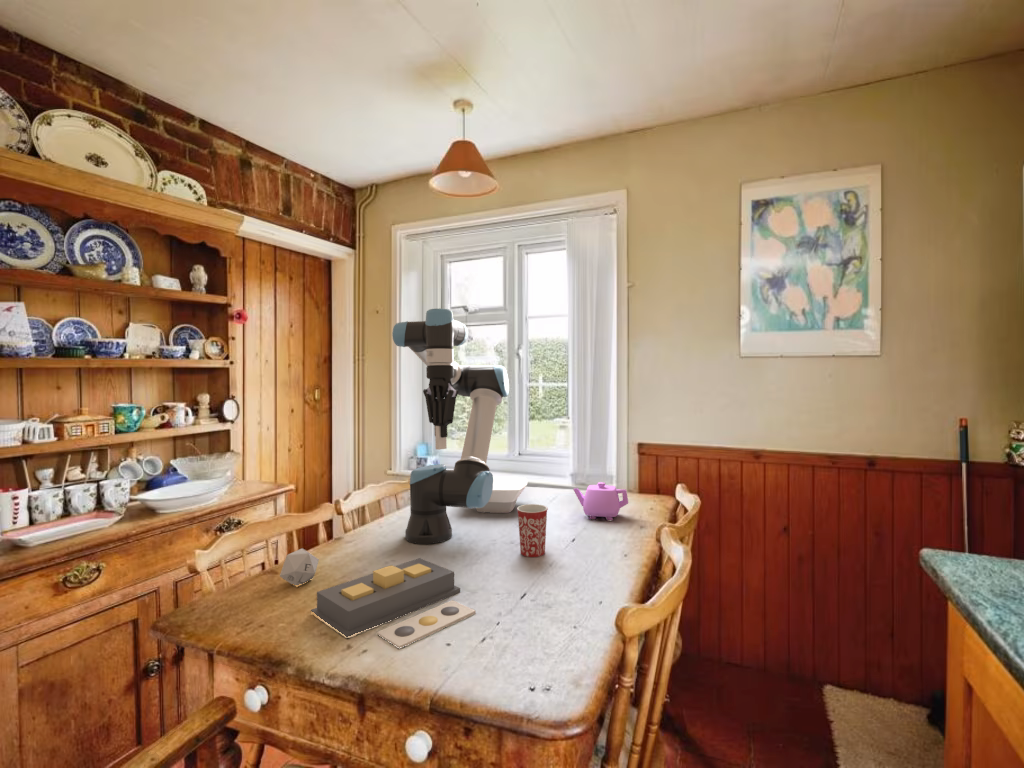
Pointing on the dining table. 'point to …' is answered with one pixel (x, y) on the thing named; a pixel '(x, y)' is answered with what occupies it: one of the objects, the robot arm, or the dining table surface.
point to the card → (426, 623)
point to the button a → (357, 591)
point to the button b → (388, 576)
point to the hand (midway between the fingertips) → (441, 448)
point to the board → (384, 599)
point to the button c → (416, 570)
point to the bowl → (504, 494)
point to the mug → (532, 529)
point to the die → (299, 567)
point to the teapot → (602, 500)
